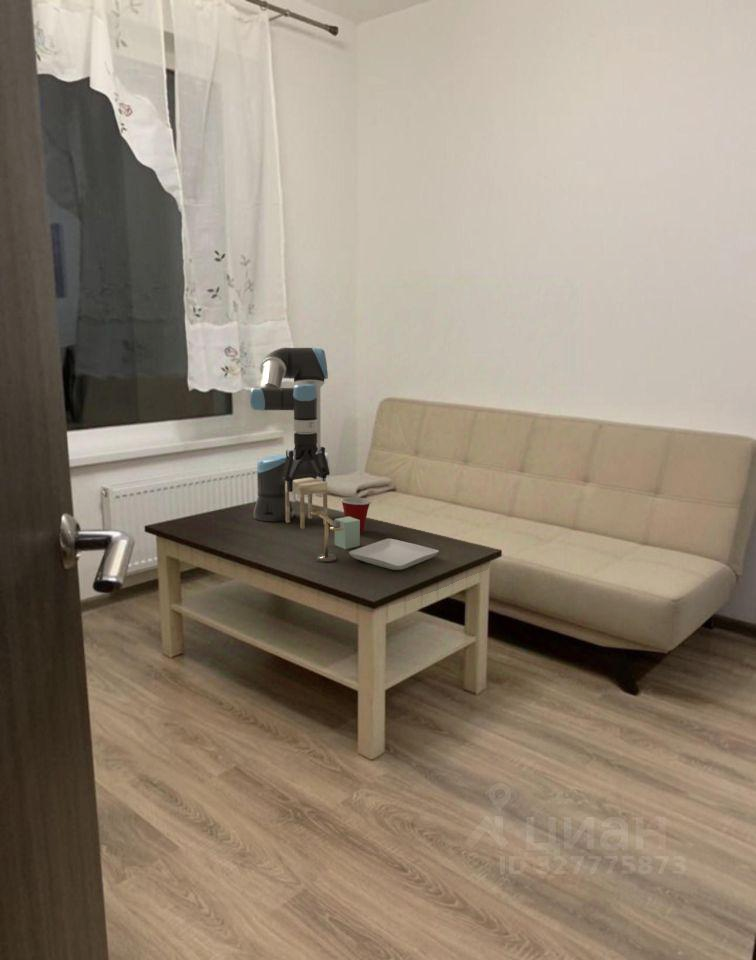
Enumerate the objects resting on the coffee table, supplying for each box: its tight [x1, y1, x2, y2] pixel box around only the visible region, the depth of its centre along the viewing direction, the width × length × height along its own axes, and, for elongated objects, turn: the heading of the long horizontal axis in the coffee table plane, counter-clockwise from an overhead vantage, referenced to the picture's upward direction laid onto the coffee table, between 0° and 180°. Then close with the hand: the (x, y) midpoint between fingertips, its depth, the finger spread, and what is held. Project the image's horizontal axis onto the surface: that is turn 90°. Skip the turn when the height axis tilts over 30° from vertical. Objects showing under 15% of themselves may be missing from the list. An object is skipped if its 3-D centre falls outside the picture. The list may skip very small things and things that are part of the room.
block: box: [334, 516, 361, 550], centre depth 253 cm, size 6×6×9 cm
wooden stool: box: [285, 477, 328, 529], centre depth 249 cm, size 10×10×14 cm
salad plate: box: [348, 538, 440, 571], centre depth 239 cm, size 21×21×3 cm
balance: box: [311, 509, 343, 563], centre depth 237 cm, size 15×6×15 cm, turn 39°
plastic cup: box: [340, 496, 372, 535], centre depth 268 cm, size 11×11×12 cm
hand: (306, 498), depth 249 cm, fingers closed on wooden stool, 10 cm apart
